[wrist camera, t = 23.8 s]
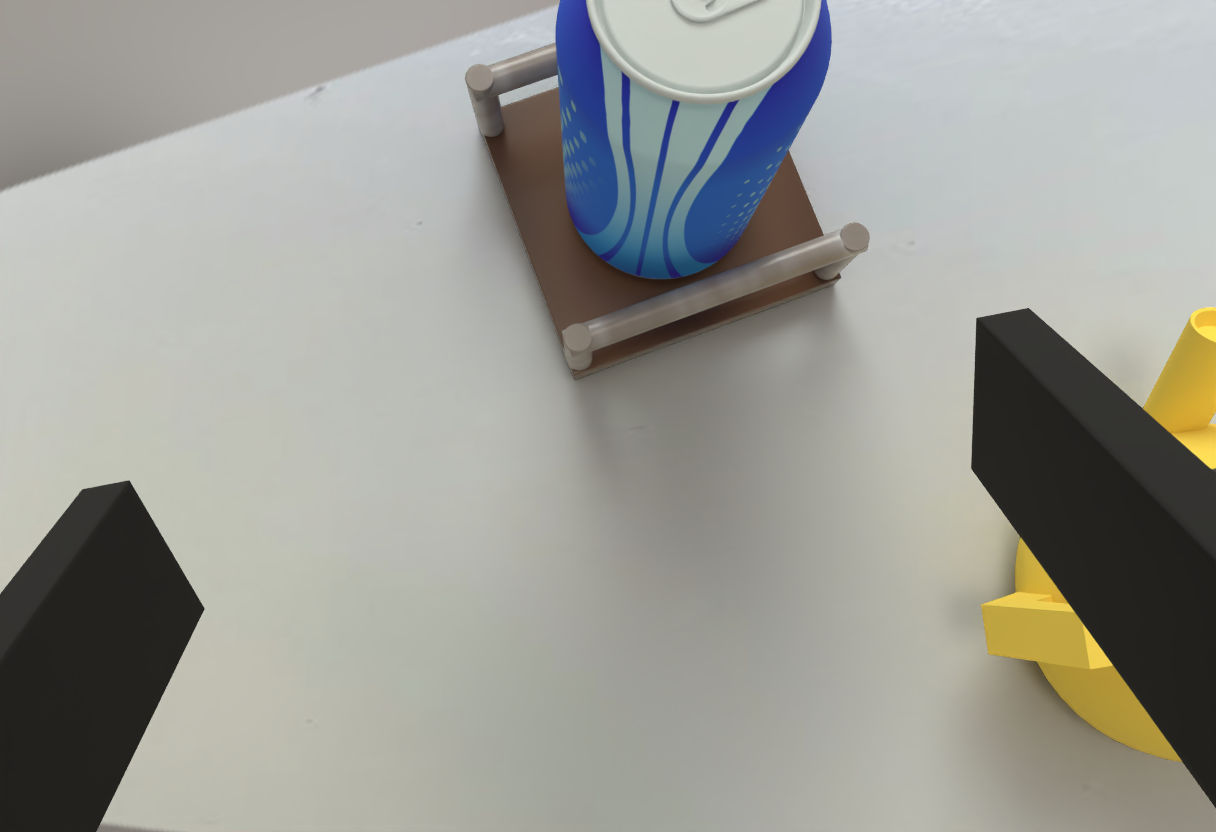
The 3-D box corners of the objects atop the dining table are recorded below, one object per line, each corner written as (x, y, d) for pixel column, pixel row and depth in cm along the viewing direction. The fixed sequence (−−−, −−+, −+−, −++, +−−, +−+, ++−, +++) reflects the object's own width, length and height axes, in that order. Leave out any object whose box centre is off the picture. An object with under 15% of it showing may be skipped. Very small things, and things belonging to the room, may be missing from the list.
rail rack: (572, 380, 40) (569, 358, 35) (477, 127, 42) (459, 66, 36) (836, 284, 41) (875, 247, 35) (734, 38, 42) (757, -35, 37)
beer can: (724, 307, 40) (817, 166, 24) (545, 260, 40) (516, 87, 24) (768, 136, 41) (884, -110, 25) (592, 90, 41) (596, -185, 25)
